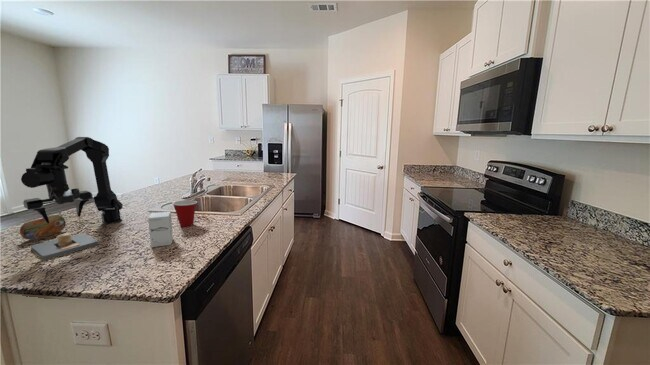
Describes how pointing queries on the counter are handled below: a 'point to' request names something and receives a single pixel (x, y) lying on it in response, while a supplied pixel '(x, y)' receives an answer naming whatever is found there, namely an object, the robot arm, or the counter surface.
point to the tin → (42, 227)
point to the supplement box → (160, 229)
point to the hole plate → (52, 250)
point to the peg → (64, 239)
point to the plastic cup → (185, 212)
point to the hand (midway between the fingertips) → (64, 219)
